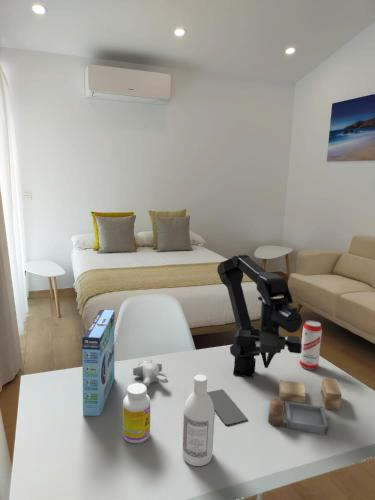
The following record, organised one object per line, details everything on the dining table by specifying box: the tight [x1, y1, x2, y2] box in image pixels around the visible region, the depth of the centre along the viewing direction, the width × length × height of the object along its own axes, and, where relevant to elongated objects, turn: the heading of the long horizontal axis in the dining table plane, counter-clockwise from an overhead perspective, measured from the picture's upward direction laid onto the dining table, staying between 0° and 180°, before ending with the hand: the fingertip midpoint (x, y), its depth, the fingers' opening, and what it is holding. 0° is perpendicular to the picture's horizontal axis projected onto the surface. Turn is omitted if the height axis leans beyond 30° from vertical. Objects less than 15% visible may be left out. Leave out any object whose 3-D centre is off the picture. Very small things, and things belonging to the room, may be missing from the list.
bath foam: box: [182, 374, 216, 467], centre depth 82 cm, size 7×7×20 cm
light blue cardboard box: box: [81, 309, 116, 417], centre depth 104 cm, size 20×5×23 cm, turn 0°
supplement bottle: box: [122, 382, 151, 444], centre depth 89 cm, size 7×7×13 cm
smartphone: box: [207, 388, 249, 427], centre depth 103 cm, size 7×1×15 cm
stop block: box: [320, 377, 343, 411], centre depth 107 cm, size 4×8×5 cm, turn 168°
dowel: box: [267, 397, 285, 428], centre depth 96 cm, size 4×4×6 cm
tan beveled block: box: [278, 379, 306, 404], centre depth 109 cm, size 7×7×3 cm
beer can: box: [299, 320, 323, 371], centre depth 126 cm, size 6×6×16 cm
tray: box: [285, 401, 329, 436], centre depth 98 cm, size 10×9×2 cm
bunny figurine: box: [132, 359, 169, 387], centre depth 115 cm, size 10×5×15 cm
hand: (266, 367), depth 110 cm, fingers closed
